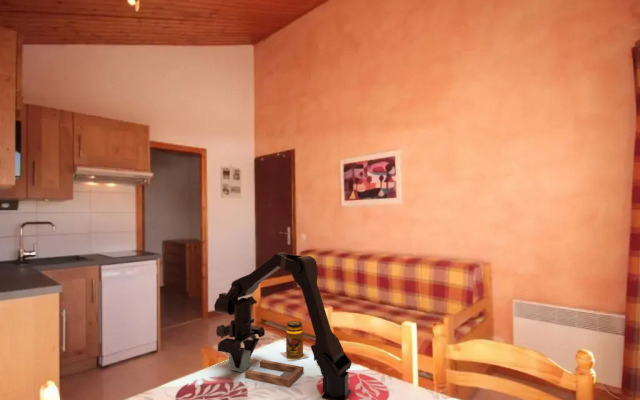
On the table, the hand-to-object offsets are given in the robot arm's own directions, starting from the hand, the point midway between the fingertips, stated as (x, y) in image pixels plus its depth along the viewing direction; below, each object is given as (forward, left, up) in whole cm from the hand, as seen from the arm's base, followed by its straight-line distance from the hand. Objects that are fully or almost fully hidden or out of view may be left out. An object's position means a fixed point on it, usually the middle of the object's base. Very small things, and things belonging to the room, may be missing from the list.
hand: (242, 364), depth 116 cm
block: (+1, 0, -1) cm, 1 cm away
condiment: (-10, -17, -2) cm, 20 cm away
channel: (-11, 0, -1) cm, 12 cm away
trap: (-16, 0, -1) cm, 16 cm away
